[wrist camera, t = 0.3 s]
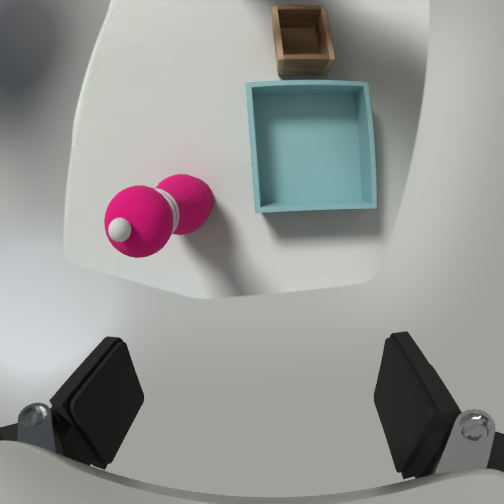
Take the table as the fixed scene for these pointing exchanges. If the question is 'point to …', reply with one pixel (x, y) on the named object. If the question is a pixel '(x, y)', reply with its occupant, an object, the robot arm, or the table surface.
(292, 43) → the small crate
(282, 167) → the big crate
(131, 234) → the pepper mill
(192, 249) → the table surface
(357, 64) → the table surface
